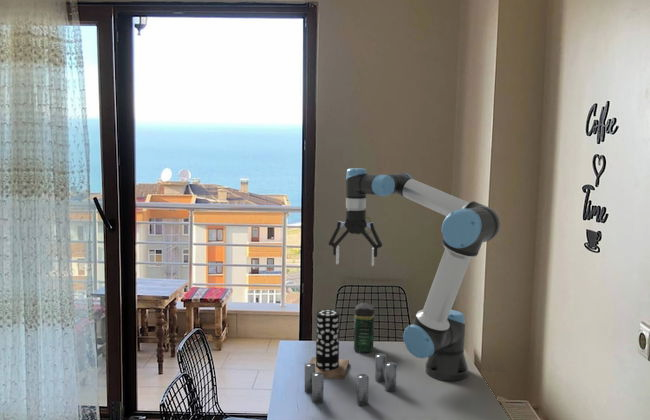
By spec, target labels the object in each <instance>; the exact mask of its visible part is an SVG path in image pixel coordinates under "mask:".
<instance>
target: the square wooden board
mask: <svg viewBox="0 0 650 420" xmlns="http://www.w3.org/2000/svg"><path fill="white" fill-rule="evenodd" d="M309 363H314V364H315V372H321V373H323V374H324V379H335V380H344V379H345V376H346V374H347V373H346V372H347V370H348V367H349V364H350V360H349V359H341V358H339V367H338V368H336V369H334V370H321V369H319V368H317V367H316V356H315V357H314V356H313V357H311V359H310V361H309Z"/></svg>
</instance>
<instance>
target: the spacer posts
mask: <svg viewBox="0 0 650 420" xmlns="http://www.w3.org/2000/svg"><path fill="white" fill-rule="evenodd" d="M374 361H375V362H374V363H375V369H374V371H375V372H374V380H375V382H376V383H377V382H378V383H384V385H385V386H384V387H385V389H384V390H385V391H386V392H388V393H394V392H396V391H397V363H396V362H393V361H388V362H386V361H387V355H386V354H385V353H381V352H379V353H376V354H375V360H374ZM356 376H357V377H356V405H357V406H359V407H367V406H369V379H370V377H369V375H368V374H364V373H359V374H357V375H356ZM324 380H325V378H324V374H323V373H321V372H315V364H314V363H310V362H306V363H305V364H304V392H305V393H307V394H311V402H312V403H313V404H315V405H320V404H323V403H324V385H325V383H324Z"/></svg>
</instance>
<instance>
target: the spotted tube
mask: <svg viewBox="0 0 650 420" xmlns="http://www.w3.org/2000/svg"><path fill="white" fill-rule="evenodd" d="M315 317H316V318H315V320H316V321H315V323H316V324H315V328H316V329H315V331H316V332H315V333H316V334H315V344H316V345H315V357H316V367H317V368H319V369H321V370H334V369H336V368H338V367H339V359H340V312H339V311H338V310H336V309H331V308H330V309H328V308H327V309H319V310H317V311H316V314H315Z"/></svg>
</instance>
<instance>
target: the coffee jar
mask: <svg viewBox="0 0 650 420" xmlns="http://www.w3.org/2000/svg"><path fill="white" fill-rule="evenodd" d="M353 324H354V326H353V327H354V330H353V331H354V333H353V350H354V352H357V353H362V354H366V353H372V351H373V349H374V334H375V307H374V305H372V304H371V303H370V302H360V303H358V304H357V305H356V306H355V307H354V323H353Z"/></svg>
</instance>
